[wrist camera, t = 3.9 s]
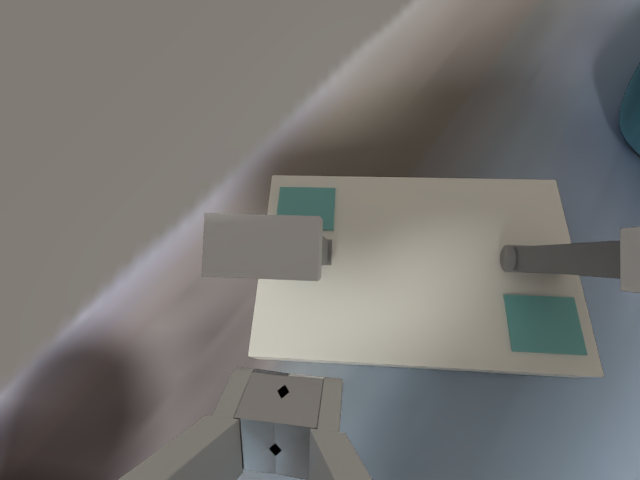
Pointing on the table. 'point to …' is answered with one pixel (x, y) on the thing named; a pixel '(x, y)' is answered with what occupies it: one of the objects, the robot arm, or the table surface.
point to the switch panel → (427, 279)
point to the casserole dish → (631, 112)
